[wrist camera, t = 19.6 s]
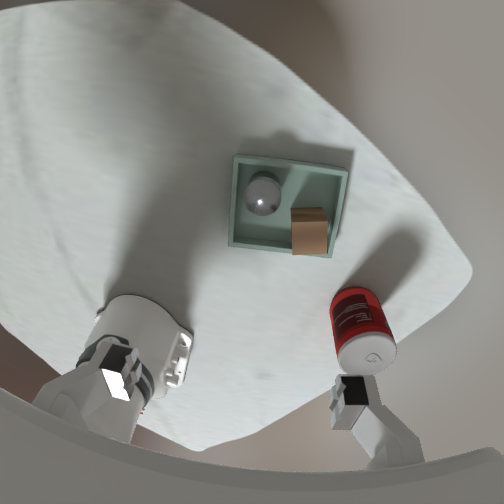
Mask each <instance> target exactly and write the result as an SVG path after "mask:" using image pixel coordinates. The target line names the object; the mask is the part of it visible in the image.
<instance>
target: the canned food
mask: <svg viewBox="0 0 504 504" xmlns="http://www.w3.org/2000/svg"><path fill="white" fill-rule="evenodd" d="M330 318H331V324H332V330H333V336H334V342H335V348H336V354H337V359H338V363H339V366H340V368H341V369H342V370H343V371H344V372H345V373H347V374H349V375H375V374H378V373H380V372H382V371H383V370H385V369H386V368H388V367H389V366H390V365H391V364H392V362H393V361H394V359H395V357H396V354H397V347H396V343H395V340H394V337H393V335H392V332H391V330H390V327H389V325H388V322H387V320H386V317H385V315H384V312H383V310H382V308H381V305H380V303H379V301H378V298H377V297H376V295H374V294H373V293H372V292H371V291H370V290H368V289H366V288H363V287H350V288H347V289H344V290H342V291H341V292H339V293H338V294H337V295H336V296H335V297H334V299H333V301H332V303H331V306H330Z"/></svg>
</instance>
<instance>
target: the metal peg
mask: <svg viewBox="0 0 504 504" xmlns="http://www.w3.org/2000/svg"><path fill="white" fill-rule="evenodd" d="M244 203H245V205H246V207H247V209H248V210H249V211H250V212H252V213H253V214H255V215H258V216H267V215H270V214H272V213H274V212H275V211H276V210H277V209H278V208H279V206H280V203H281V183H280V180H279V179H278V177H277V176H276V175H275V174H273V173H271V172H268V171H260V172H257V173H256V174H254V175H253V176H252V177H251V178H250V180H249V183H248V185H247V188H246V190H245V193H244Z"/></svg>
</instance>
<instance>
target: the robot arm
mask: <svg viewBox="0 0 504 504" xmlns="http://www.w3.org/2000/svg"><path fill="white" fill-rule="evenodd" d="M94 321H95V324H96V325H95V327H94V328H93V330H92V332H91V334H90V336H89V338H88V340H87V341H86V343H85V351H84V352H83V353H82V354H81V356H80V357H79V360H78V362H77V364H76V369H74V370H72V371H70V372H68V373H66V374H64V375H62V376H60V377H58V378H56V379H54V380H52V381H50V382H48V383H46V384H44V385H43V387H42V389H41V390H40V392H39V393H38V395H37V396H36V398H35V399H34V401H33V403H32V404H29V403H27V402H25V401H23V400H22V399H20V398H18V397H16V396H14V395H13V394H11V393H9V392H7V391H5V390H4V389H2V388H0V504H504V455H502V454H501V453H500V452H499V451H497V450H496V449H494V448H493V447H486V448H481V449H478V450H474V451H471V452H468V453H464V454H460V455H456V456H451V457H447V458H443V459H438V460H433V461H428V462H425V460H424V456H423V452H422V448H421V444H420V440H419V438H418V437H417V436H416V435H415V434H414V433H413V432H412V431H411V430H410V429H408V427H407V426H406V425H405V424H404V423H403V422H402V421H401V420H400V419H399V418H398V417H396V416H395V415H394V414H393V413H392V412H391V411H390V410H389V409H388V408H387V407H386V406H385V405H382V404H381V400H380V396H379V392H378V388H377V384H376V380H375V377H374V375H349V374H338V376H337V377H336V379H335V383H336V385H334V386H333V387H332V389H331V391H330V396H329V408H330V409H331V410H332V411H333V412H332V414H331V416H330V420H331V429H333V430H351V432H352V433H353V435H354V436H355V437H356V439H357V440H358V442H359V443H360V444H361V446H362V447H363V448H364V450H365V451H366V452H367V454H368V455H369V456H370V458H371V459H372V460H371V461H370V462H369V463H368V464H367V465H366V467H364V468H363V470H359V471H341V472H340V471H339V472H293V471H274V470H261V469H250V468H242V467H234V466H226V465H220V464H213V463H207V462H201V461H196V460H191V459H186V458H181V457H177V456H172V455H168V454H164V453H160V452H156V451H152V450H148V449H145V448H141V447H138V446H134V445H131V444H130V442H131V438H132V435H133V432H134V429H135V426H136V423H137V420H138V418H139V415H140V414H143V413H142V412H141V410H145V409H144V407H145V406H146V405H147V403H149V402H150V400H151V399H160V398H163V397H165V396H166V394H167V392H168V389H169V388H177V387H181V386H182V384H183V382H184V378H185V373H186V368H187V364H188V359H189V355H190V350H191V346H192V341H193V336H192V335H191V334H190V333H189V332H188V331H187V330H185V329H184V328H182V327H180V326H179V325H178V324H177V323H176V322H175V321H174V319H173V318H172V317H171V316H170V315H169V314H168V313H167V312H166V311H165V310H164V309H163V308H162V307H160V306H159V305H157V304H156V303H154V302H152V301H150V300H148V299H146V298H143V297H140V296H135V295H122V296H118V297H116V298H114V299H113V300H111V301H110V302H109V304H108V305H107V307H106V309H105V310H104V311H102V312H100V313H98V314H97V315H96V317H95V319H94Z"/></svg>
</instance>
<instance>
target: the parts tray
mask: <svg viewBox="0 0 504 504" xmlns="http://www.w3.org/2000/svg"><path fill="white" fill-rule="evenodd" d="M260 171H268V172H271V173H273V174H275V175H276V176H277V177H278V179H279V180H280V183H281V203H280V206H279V208H278V209H277V210H276V211H275V212H274V213H272V214H270V215H267V216H258V215H255V214H253V213H252V212H250V211H249V210H248V209H247V207H246V205H245V203H244V193H245V190H246V188H247V185H248V183H249V180H250V178H251V177H252V176H253V175H254V174H256V173H257V172H260ZM347 177H348V171H347V170H346V169H345V168H342V167H336V166H330V165H323V164H316V163H309V162H302V161H294V160H286V159H278V158H269V157H260V156H250V155H239V154H236V155H235V156H234V158H233V172H232V186H231V201H230V216H229V233H228V246H231V247H239V248H248V249H256V250H265V251H273V252H282V253H290V254H292V240H291V210H290V208H306V207H322V208H323V210H324V213H325V215H326V218H327V220H328V237H327V254H311V255H307V256H316V257H324V258H332V253H333V249H334V244H335V240H336V235H337V230H338V225H339V220H340V215H341V210H342V205H343V200H344V194H345V189H346V183H347Z"/></svg>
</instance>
